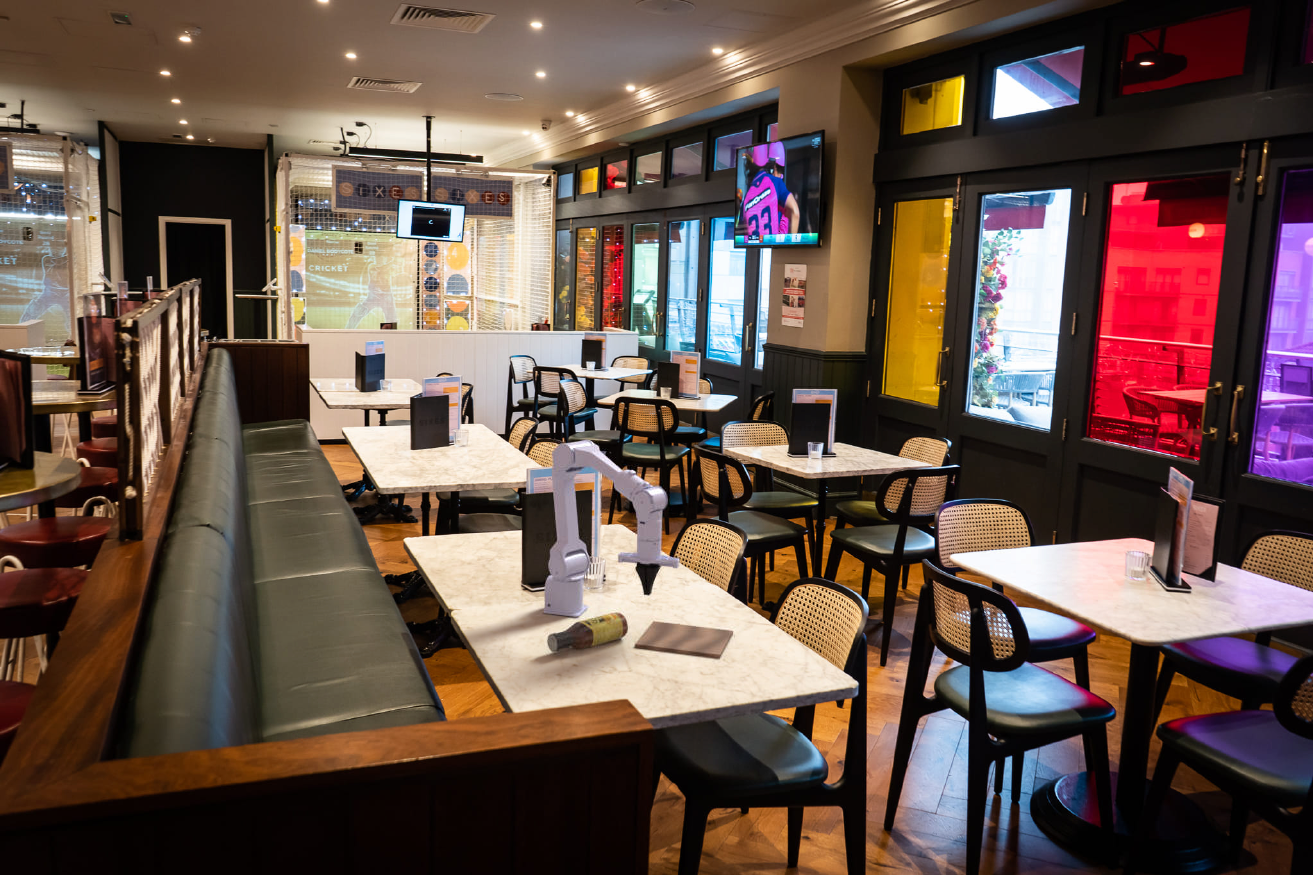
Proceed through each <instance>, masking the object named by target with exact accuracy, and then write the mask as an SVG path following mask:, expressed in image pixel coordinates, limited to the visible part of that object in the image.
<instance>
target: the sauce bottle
mask: <svg viewBox="0 0 1313 875" xmlns="http://www.w3.org/2000/svg"><path fill="white" fill-rule="evenodd" d="M628 631H629V625H628V621H627V618H626V616H624V614H622V613H621V612H612V613H607V614H603V615H599V616H594V617H591V618H587V619H584V620H579V621H576V622H575V623H573V624H572V625H571V626H570V627H568V628H567V629H565V630H562V631H561V632H553V633H549V635H548V636H547V639H546V640H547V641H546V643H547V646H548V649H549V650H550V651H551V652H552V653H553V652H554V653H556V652H559V651H561V650H563V649H568V648H572V649H575V650H583V649H586V648H591V647H596V646H598V645H602V644H605V643H609V642H612V641H617V640H619V639H622V638H624V637H626V635H627V633H628Z"/></svg>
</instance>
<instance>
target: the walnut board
mask: <svg viewBox="0 0 1313 875" xmlns="http://www.w3.org/2000/svg"><path fill="white" fill-rule="evenodd" d="M733 635H734V630H730V629H729V630H728V629H721V628H712V627H705V626H696V625H688V624H680V623H671V622H663V621H655V620H653V621H652V622H651V624H650V625H649V626H648V628H647V629H646V630H645V631H644V632H643V633H642V635H641V636H640V637H639V638H638V640H637V641H636V642H635V643H634V647H635V648H637V649H647V650H653V651H662V652H671V653H677V654H683V655H684V654H685V655H692V656H698V657H699V656H700V657H707V658H708V657H709V658H714V659H721V658H722V656H723V653H724V652H725V650H726V648H727V647H728V645H729V642H730V641H731V639H732V637H733Z"/></svg>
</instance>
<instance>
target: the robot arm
mask: <svg viewBox="0 0 1313 875" xmlns="http://www.w3.org/2000/svg"><path fill="white" fill-rule="evenodd" d="M551 456H552V467H551V481H552V491H553V502H554V504H553V505H554V514H555V515H554V516H555V528H556V539H557V540H556V542H555V543H554V545H553V546H552V547H551V548H550V550H549V556H550V557H549V560H548V571H549V573H550V575H548V576H547V578H546V581H545V584H544V606H543V607H544V608H543V612H542V613H544V614H550V615H557V616H566V617H575V618H579V617H580V616H581V615H582V614H583V613H584V612H585V611H586V610H587V609H588V608H589V605H586V604H585V605H584V577H585V576H586V572H587V571H588V570H589V569H590V566H591V557H590V556H589V554H588V550H587V545H586V543H585V542H584V541H582V540H581V539H580V535H579V522H578V512H577V511H578V510H577V499H576V486H575V484H576V483H575V478H576V476H578V474H579V473H580V472H581V471H582V470H583V469H585V468H591V469H593V470H595V471H596V472H598V473H599V474H601V475H602V476H604V477H605V478H607V479H608V480H610V481H612V482H613V487H614V488H613V489H615V491H617V492H618V493H620V494H621V495H622V496H624V497H625V498H626V499H628V500H629V501H630V502H632V505H633V508H634V510H635V511H634V512H635V514H636V515H635V517H636V519H637V526H636V527H637V531H636V533H637V534H636V536H637V538H636V552H620V553H618V554H617V562H618V563H632V564H636V566H635V572H636V574H637V576H638V578H639V580H640V584H641V586H642V590H643V596H650V595H651V594H652V592H653V587H654V583H655V580H656V577H657V576H658V573H659V571H660V569H661V567H669V568H673V569H678V568H679V567H680V558H678V557H672V556H667V555H665V554H662V533H663V532H662V530H663V526H662V525H663V510H665V509H666V507H667V505H668V502H669V500H668V495H667V492H666V491H665V490H664V489H663V488H662V486H660V485H654V486H653V485H652V484H651V483H650V482H648V481H645V480H644V479H643V478H641V477H640V476H638V475H637V472H636V471H635V470H633V469H631V470H630V469H625V470H623V469H621V468H620V467H619V466H618V465H616V464H615V463H614V462H613V461H612V460H611V459H610V458H608V456H606V454H604V453H603V452H602V451H601V450H600V446H599V445H597V444H596V443H594V442H593V441H592V440H589V439H583V440H579V441H574V442H572V441H571V442H567V443H566V442H565V443H559V444H558V445H557V446H556V447H555V448H554V449H553V450H552V452H551Z"/></svg>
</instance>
